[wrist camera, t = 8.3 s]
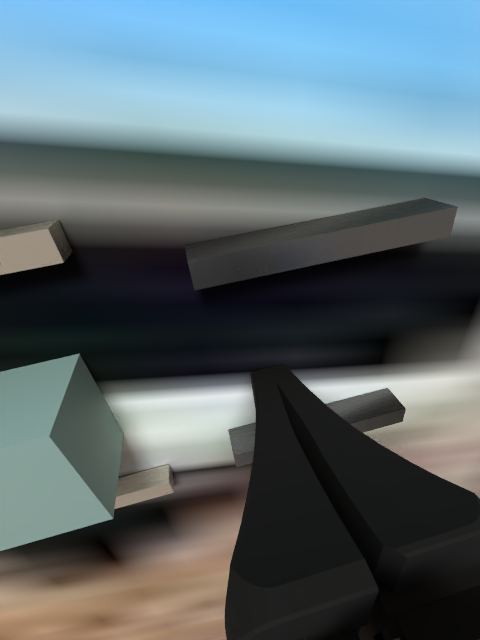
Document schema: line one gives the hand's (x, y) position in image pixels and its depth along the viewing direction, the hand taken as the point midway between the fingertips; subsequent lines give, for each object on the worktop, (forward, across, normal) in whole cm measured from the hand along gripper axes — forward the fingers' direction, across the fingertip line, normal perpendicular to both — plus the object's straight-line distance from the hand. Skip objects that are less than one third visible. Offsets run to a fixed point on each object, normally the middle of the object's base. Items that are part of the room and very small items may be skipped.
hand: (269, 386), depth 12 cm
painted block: (+2, +10, 0) cm, 11 cm away
